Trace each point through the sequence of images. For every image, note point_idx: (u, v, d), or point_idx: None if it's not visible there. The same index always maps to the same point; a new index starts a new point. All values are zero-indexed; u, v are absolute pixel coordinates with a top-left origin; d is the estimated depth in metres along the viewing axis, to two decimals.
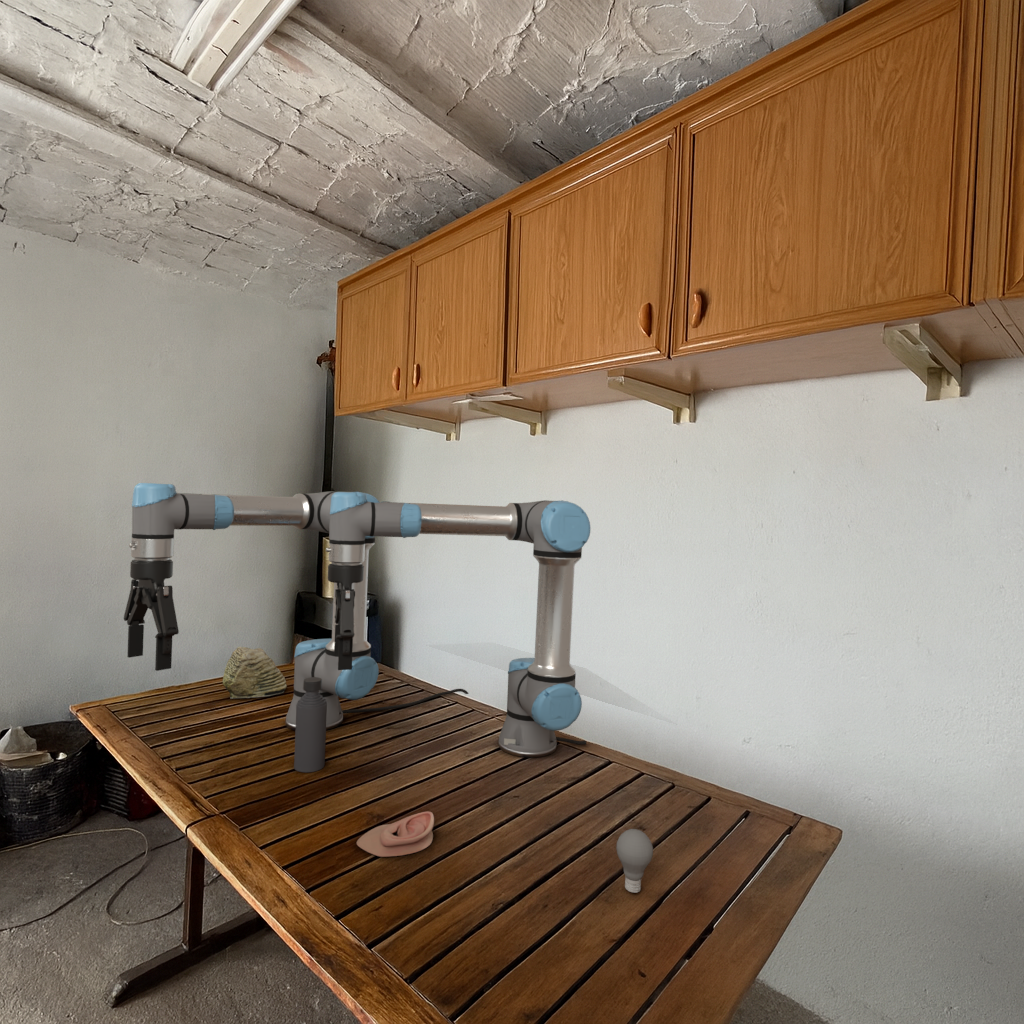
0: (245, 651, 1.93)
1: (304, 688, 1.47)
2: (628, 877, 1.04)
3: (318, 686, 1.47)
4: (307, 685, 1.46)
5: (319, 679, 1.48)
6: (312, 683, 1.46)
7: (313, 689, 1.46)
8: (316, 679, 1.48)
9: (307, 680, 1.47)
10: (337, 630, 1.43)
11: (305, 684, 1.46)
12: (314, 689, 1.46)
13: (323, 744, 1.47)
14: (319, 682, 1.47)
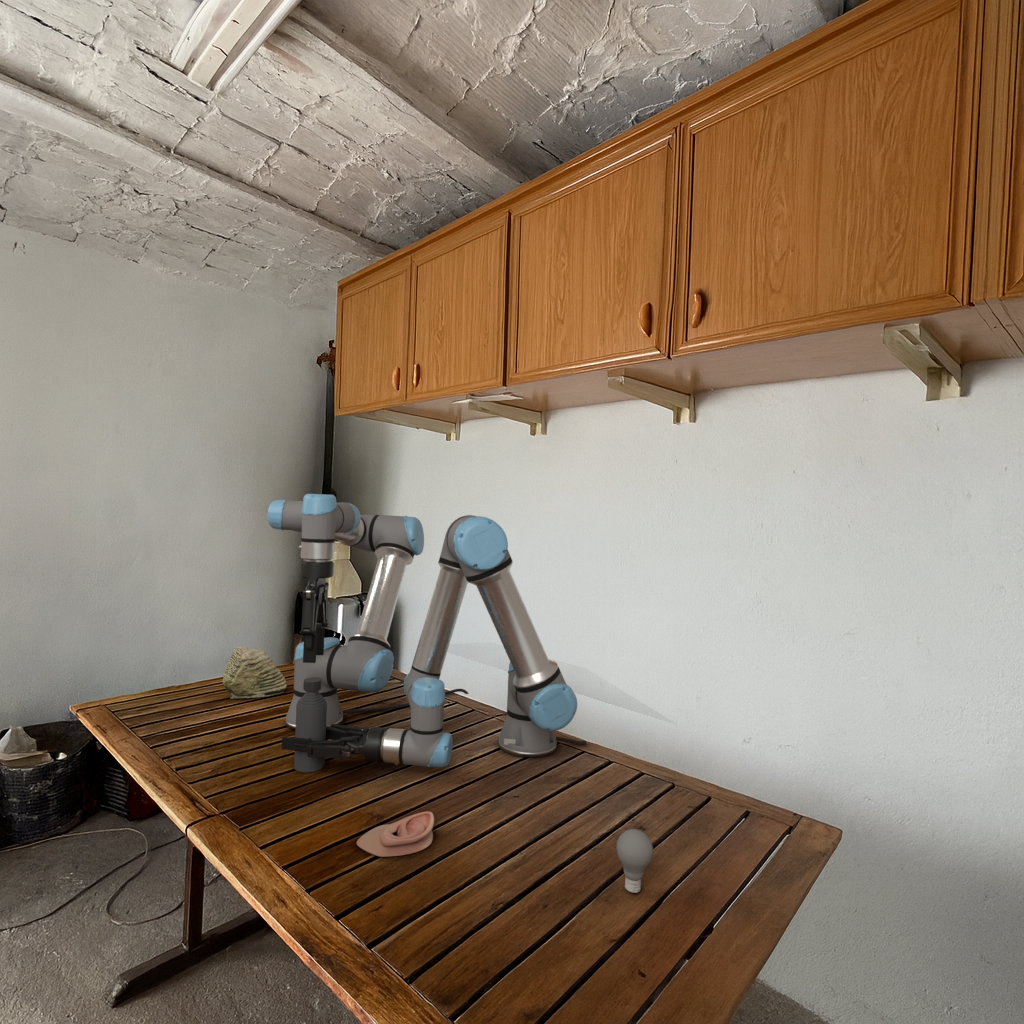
0: (245, 651, 1.93)
1: (304, 688, 1.47)
2: (628, 877, 1.04)
3: (318, 686, 1.47)
4: (307, 685, 1.46)
5: (319, 679, 1.48)
6: (312, 683, 1.46)
7: (313, 689, 1.46)
8: (316, 679, 1.48)
9: (307, 680, 1.47)
10: None
11: (305, 684, 1.46)
12: (314, 689, 1.46)
13: None
14: (319, 682, 1.47)
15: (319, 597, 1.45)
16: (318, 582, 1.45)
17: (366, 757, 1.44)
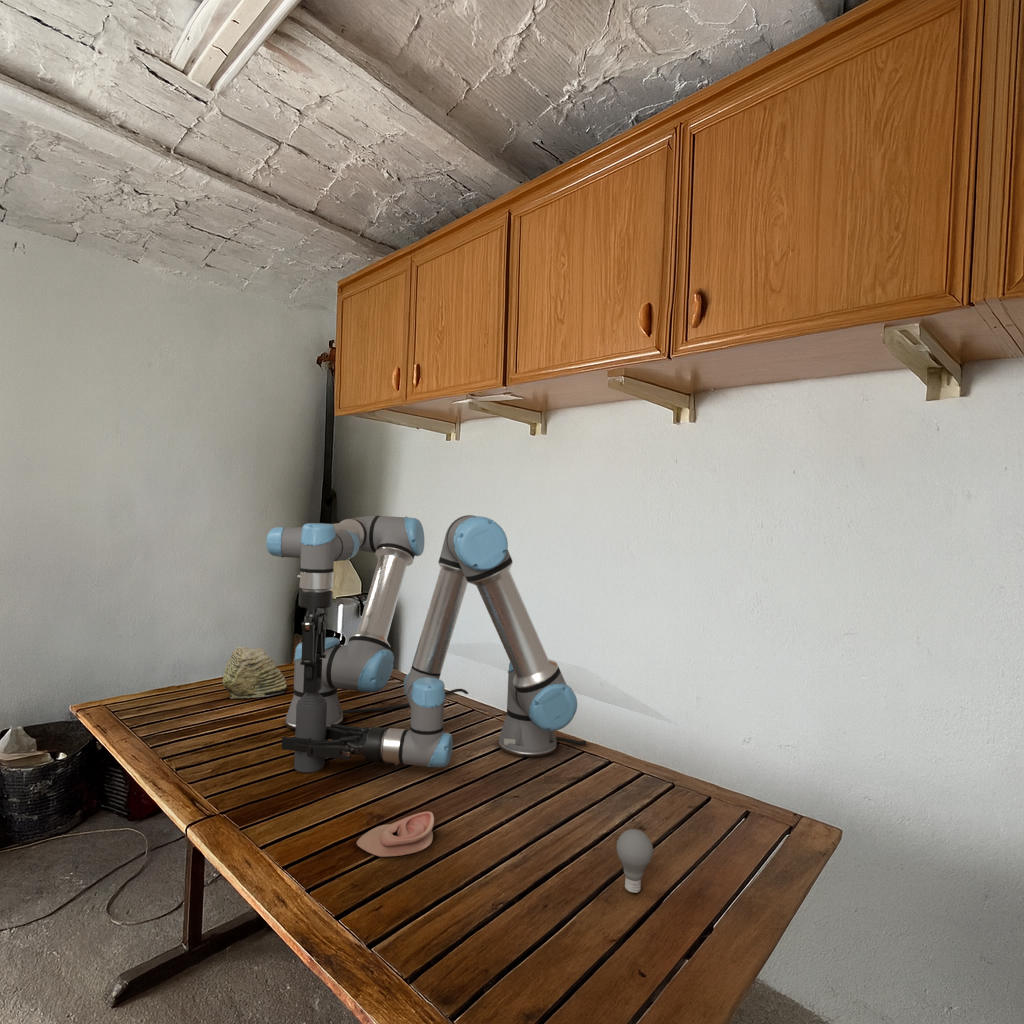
0: (245, 651, 1.93)
1: None
2: (628, 877, 1.04)
3: (318, 686, 1.47)
4: None
5: (319, 679, 1.48)
6: None
7: None
8: (316, 679, 1.48)
9: None
10: None
11: None
12: None
13: None
14: (319, 682, 1.47)
15: (318, 627, 1.46)
16: (317, 612, 1.45)
17: (366, 757, 1.44)
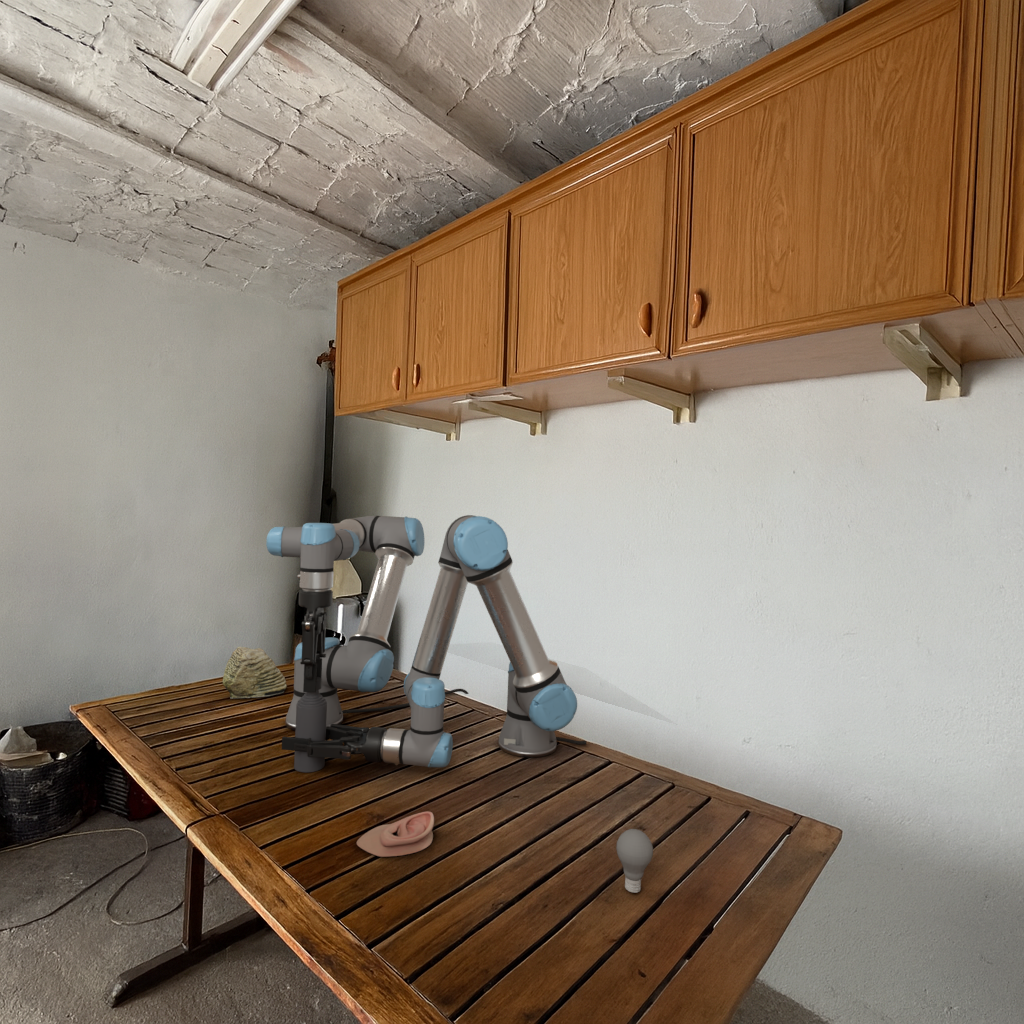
0: (245, 651, 1.93)
1: (318, 688, 1.47)
2: (628, 877, 1.04)
3: None
4: (320, 683, 1.48)
5: None
6: None
7: None
8: None
9: (316, 680, 1.47)
10: None
11: (320, 683, 1.47)
12: None
13: None
14: None
15: (318, 627, 1.46)
16: (317, 611, 1.45)
17: (366, 757, 1.44)
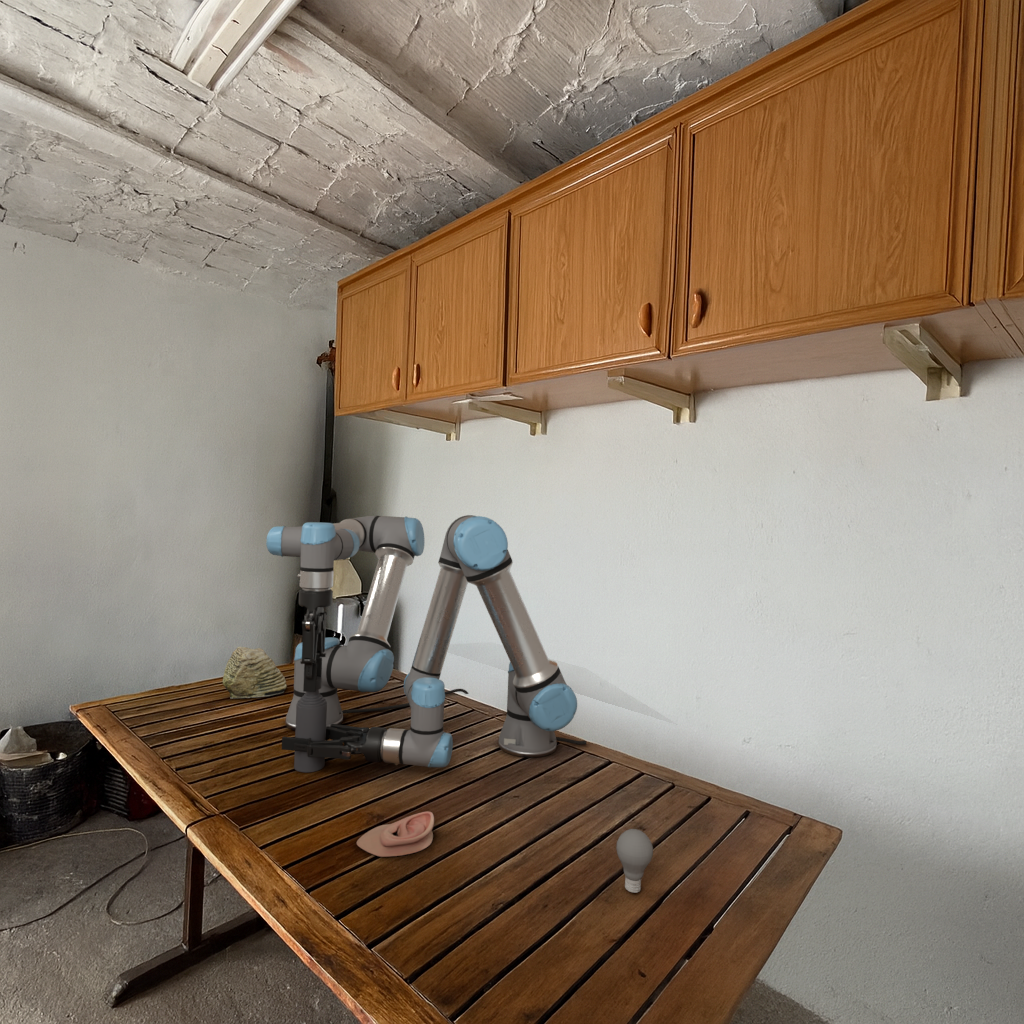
0: (245, 651, 1.93)
1: None
2: (628, 877, 1.04)
3: None
4: None
5: None
6: None
7: None
8: None
9: None
10: None
11: None
12: None
13: None
14: None
15: (318, 626, 1.46)
16: (317, 611, 1.45)
17: (366, 757, 1.44)
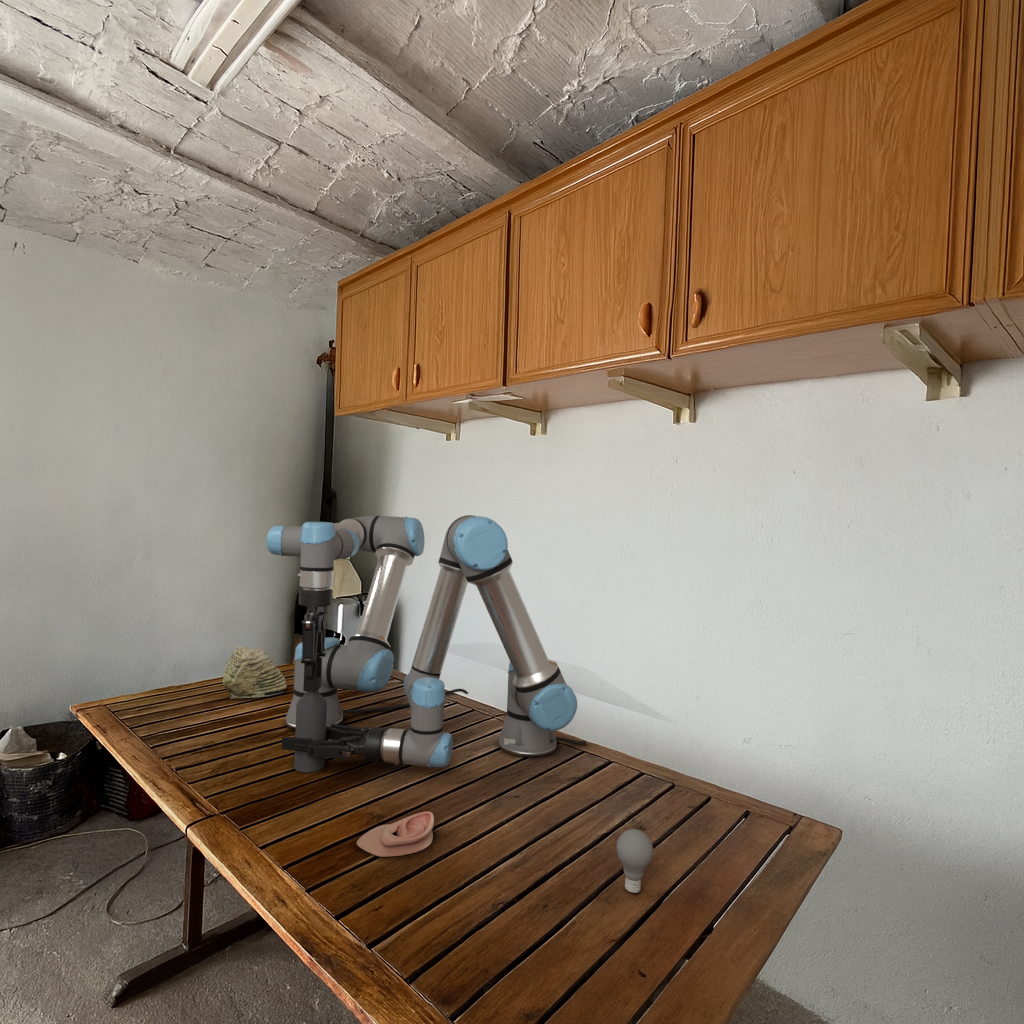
0: (245, 651, 1.93)
1: None
2: (628, 877, 1.04)
3: None
4: None
5: (317, 679, 1.47)
6: None
7: None
8: None
9: None
10: None
11: None
12: None
13: None
14: None
15: (318, 626, 1.46)
16: (317, 610, 1.45)
17: (366, 757, 1.44)
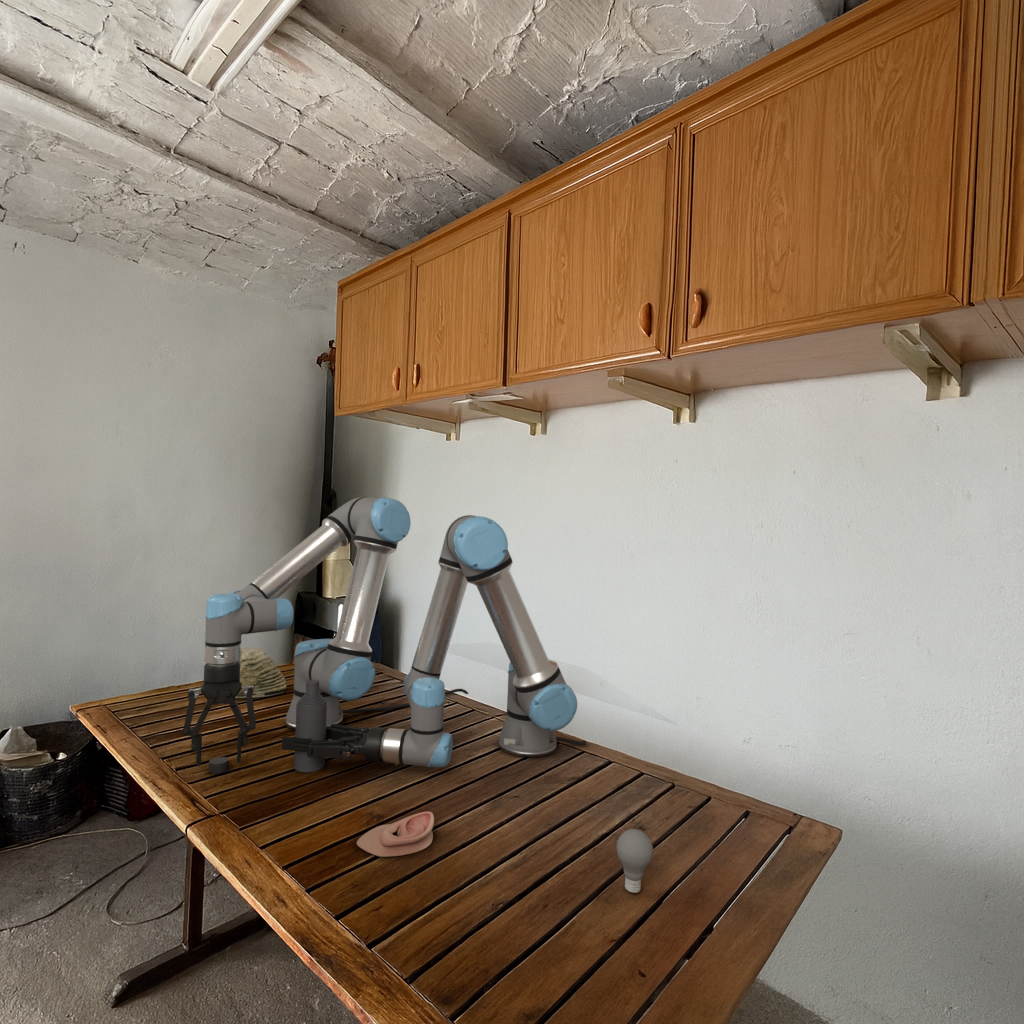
0: (245, 651, 1.93)
1: (218, 771, 1.43)
2: (628, 877, 1.04)
3: None
4: (222, 767, 1.43)
5: (222, 757, 1.46)
6: (227, 762, 1.44)
7: (227, 768, 1.44)
8: (220, 758, 1.45)
9: (218, 762, 1.43)
10: None
11: (220, 766, 1.43)
12: None
13: None
14: None
15: None
16: None
17: (366, 757, 1.44)
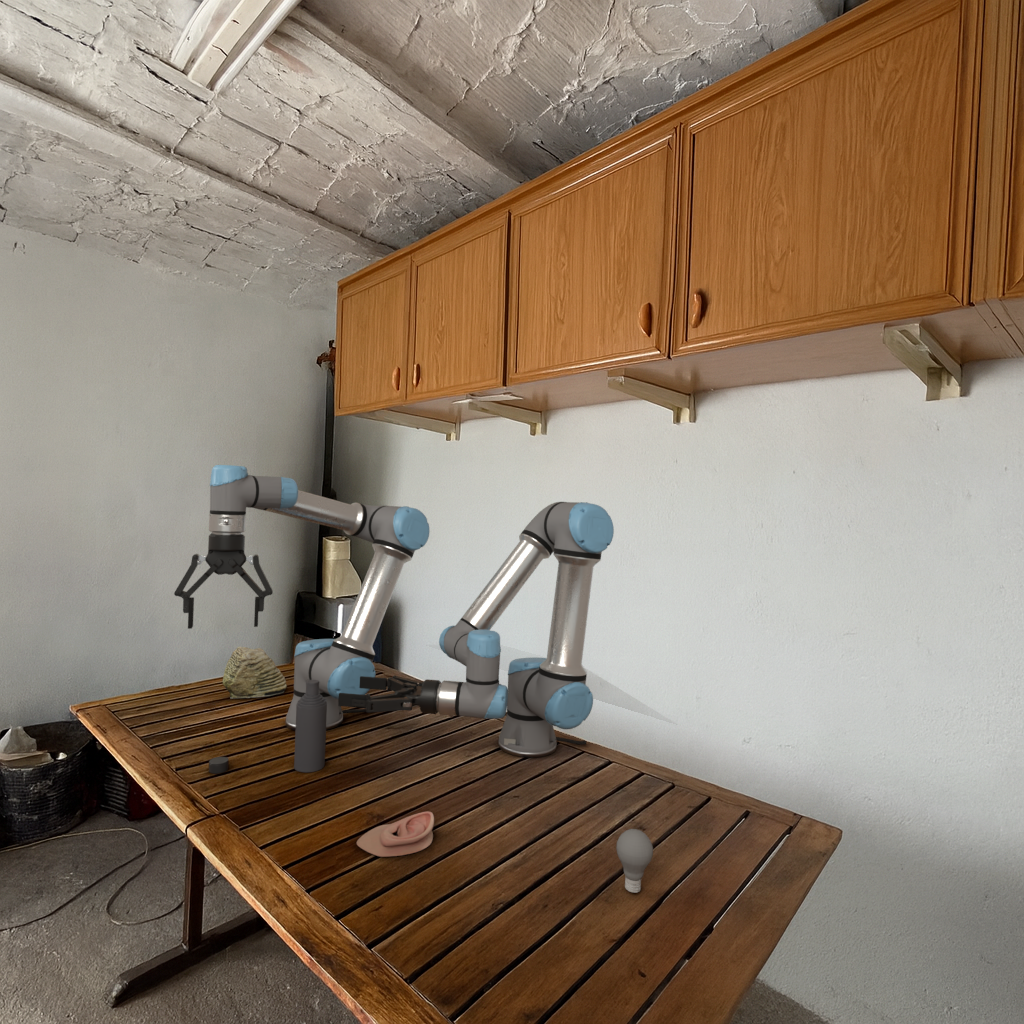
0: (245, 651, 1.93)
1: (218, 771, 1.43)
2: (628, 877, 1.04)
3: None
4: (222, 767, 1.43)
5: (222, 757, 1.46)
6: (227, 762, 1.44)
7: (227, 768, 1.44)
8: (220, 758, 1.45)
9: (218, 762, 1.43)
10: None
11: (220, 766, 1.43)
12: None
13: (323, 744, 1.47)
14: None
15: (241, 566, 1.46)
16: None
17: (422, 708, 1.42)
